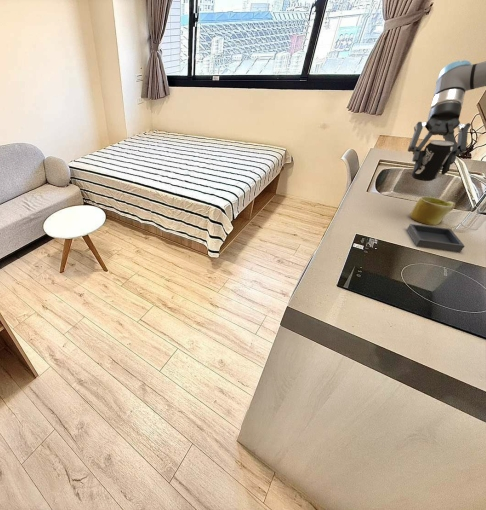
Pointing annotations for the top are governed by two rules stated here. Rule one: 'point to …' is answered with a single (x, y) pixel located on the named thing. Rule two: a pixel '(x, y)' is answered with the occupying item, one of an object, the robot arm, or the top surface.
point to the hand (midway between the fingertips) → (430, 171)
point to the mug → (431, 210)
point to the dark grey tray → (435, 238)
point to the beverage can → (433, 160)
